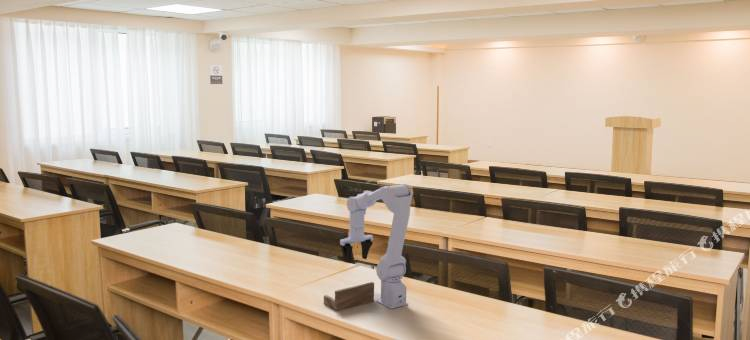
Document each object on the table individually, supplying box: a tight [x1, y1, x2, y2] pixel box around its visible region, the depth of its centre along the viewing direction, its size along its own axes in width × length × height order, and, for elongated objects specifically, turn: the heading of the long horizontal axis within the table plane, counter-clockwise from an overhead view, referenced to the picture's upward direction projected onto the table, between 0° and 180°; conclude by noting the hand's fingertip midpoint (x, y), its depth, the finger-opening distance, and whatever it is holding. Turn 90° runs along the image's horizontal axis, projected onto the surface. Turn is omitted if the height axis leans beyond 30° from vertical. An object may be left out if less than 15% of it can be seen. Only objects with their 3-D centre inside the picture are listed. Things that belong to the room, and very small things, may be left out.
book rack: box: [323, 281, 375, 312], centre depth 215 cm, size 9×16×7 cm, turn 127°
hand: (356, 260), depth 232 cm, fingers open, 7 cm apart
